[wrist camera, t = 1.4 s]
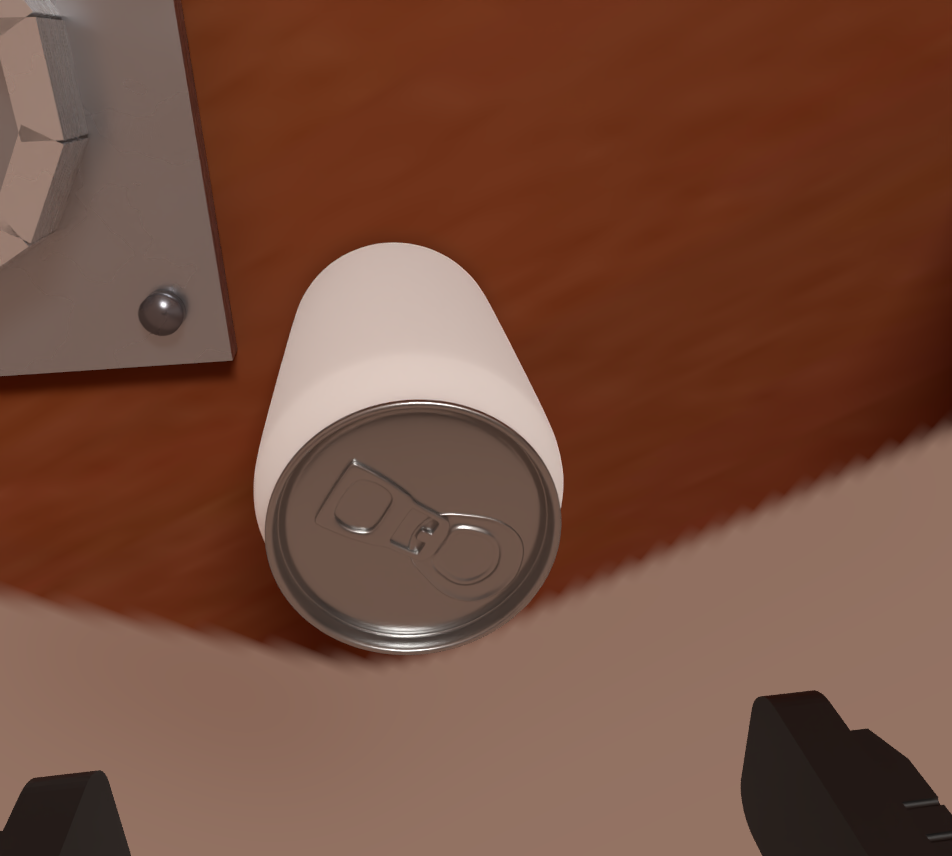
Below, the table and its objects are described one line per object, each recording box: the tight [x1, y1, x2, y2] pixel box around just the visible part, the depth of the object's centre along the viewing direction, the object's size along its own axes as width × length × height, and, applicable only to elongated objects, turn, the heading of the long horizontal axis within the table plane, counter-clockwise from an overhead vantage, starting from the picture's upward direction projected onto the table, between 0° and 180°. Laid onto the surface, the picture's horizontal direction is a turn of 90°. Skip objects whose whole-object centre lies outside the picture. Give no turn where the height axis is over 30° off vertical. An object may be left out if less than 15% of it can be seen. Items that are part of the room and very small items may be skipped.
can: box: [254, 243, 563, 655], centre depth 21 cm, size 6×6×12 cm
